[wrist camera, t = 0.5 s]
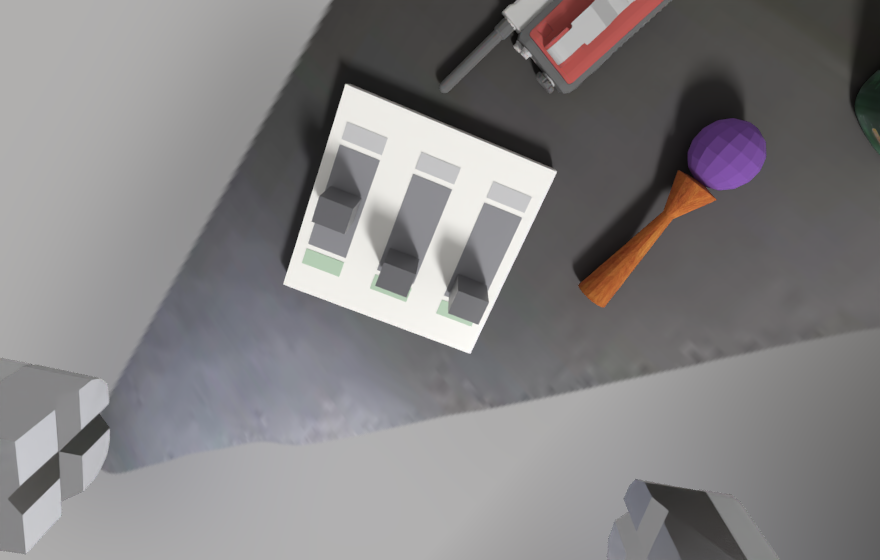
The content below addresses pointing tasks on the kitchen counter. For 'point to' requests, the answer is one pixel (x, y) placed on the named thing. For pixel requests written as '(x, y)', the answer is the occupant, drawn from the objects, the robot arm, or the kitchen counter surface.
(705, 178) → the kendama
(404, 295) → the block
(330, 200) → the block
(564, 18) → the walkie-talkie
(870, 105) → the coffee jar
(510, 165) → the breaker panel
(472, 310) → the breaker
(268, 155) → the kitchen counter surface
